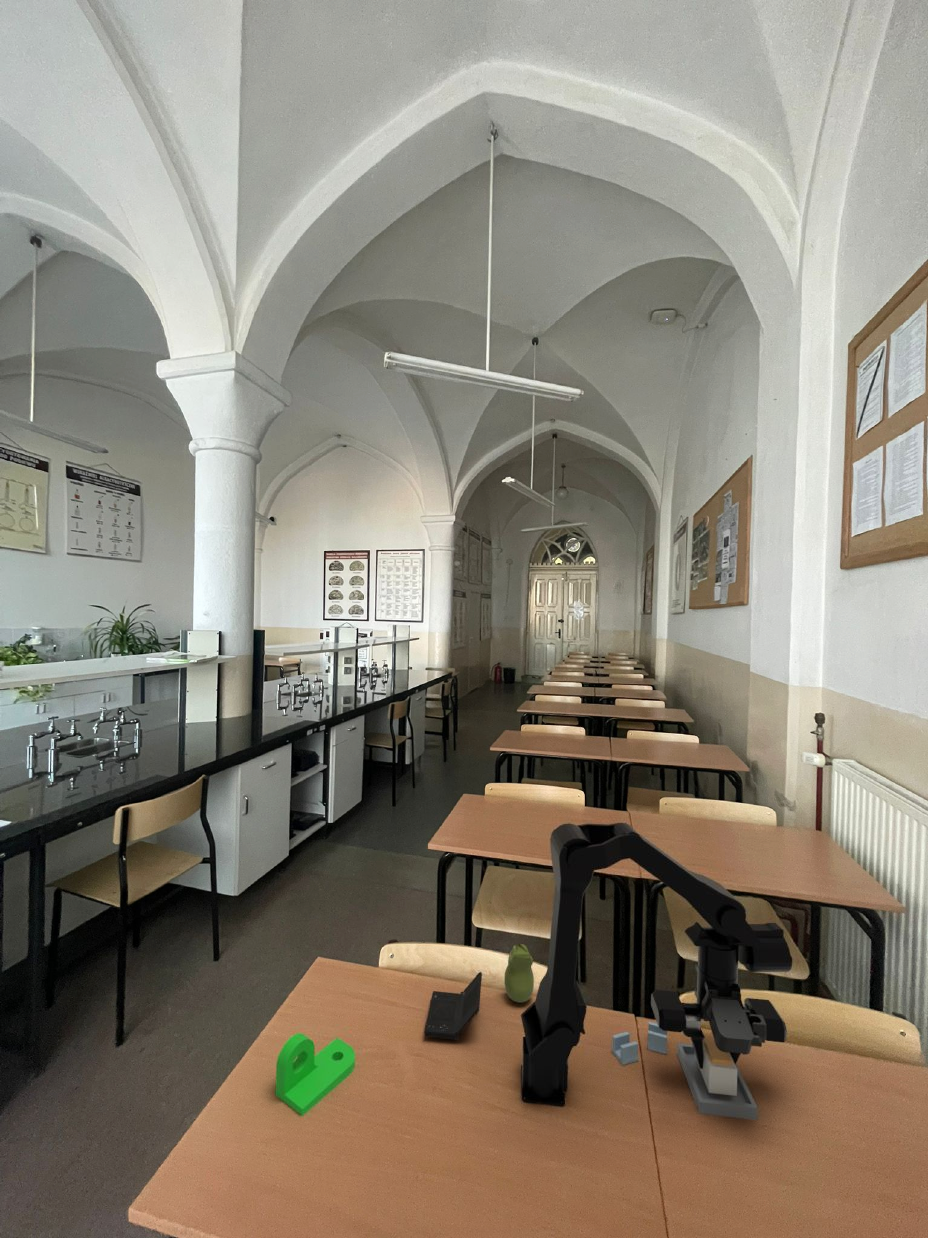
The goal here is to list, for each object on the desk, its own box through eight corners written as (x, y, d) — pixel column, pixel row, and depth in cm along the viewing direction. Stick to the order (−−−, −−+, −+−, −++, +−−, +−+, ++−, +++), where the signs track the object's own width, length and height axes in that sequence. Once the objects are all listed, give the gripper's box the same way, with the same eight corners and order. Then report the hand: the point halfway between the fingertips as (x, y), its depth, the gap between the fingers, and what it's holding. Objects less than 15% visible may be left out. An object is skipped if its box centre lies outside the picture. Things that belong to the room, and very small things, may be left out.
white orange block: (708, 1092, 82) (709, 1062, 82) (694, 1055, 89) (695, 1027, 89) (736, 1096, 82) (737, 1065, 82) (720, 1058, 89) (720, 1030, 89)
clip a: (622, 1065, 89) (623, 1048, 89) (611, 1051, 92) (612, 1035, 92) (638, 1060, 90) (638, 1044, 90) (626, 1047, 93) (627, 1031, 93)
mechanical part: (302, 1123, 78) (303, 1067, 78) (275, 1101, 81) (276, 1048, 81) (362, 1067, 88) (363, 1017, 87) (336, 1049, 91) (337, 1002, 91)
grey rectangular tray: (699, 1114, 80) (699, 1102, 80) (677, 1053, 91) (677, 1043, 91) (757, 1120, 80) (757, 1108, 80) (727, 1058, 91) (728, 1048, 91)
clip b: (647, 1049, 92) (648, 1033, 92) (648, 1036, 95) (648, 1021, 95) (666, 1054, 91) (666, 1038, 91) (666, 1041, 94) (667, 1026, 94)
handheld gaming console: (421, 987, 103) (456, 948, 103) (450, 1008, 104) (485, 970, 104) (421, 1040, 92) (459, 997, 91) (453, 1064, 93) (491, 1021, 92)
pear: (529, 988, 107) (530, 937, 107) (536, 1008, 101) (538, 954, 101) (501, 990, 106) (503, 939, 106) (507, 1010, 101) (508, 956, 101)
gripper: (670, 999, 78) (667, 1107, 78) (807, 1012, 76) (804, 1122, 77) (651, 952, 89) (648, 1047, 89) (770, 962, 88) (767, 1059, 88)
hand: (714, 1068), depth 85 cm, fingers closed on white orange block, 4 cm apart
